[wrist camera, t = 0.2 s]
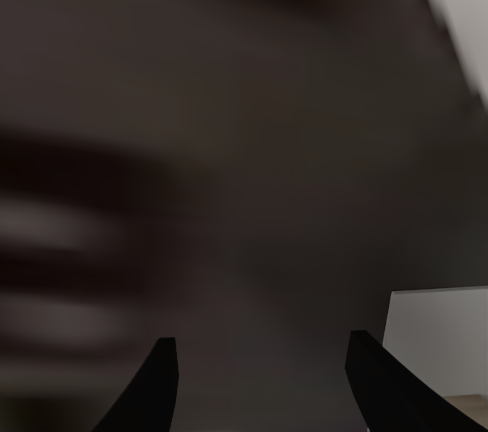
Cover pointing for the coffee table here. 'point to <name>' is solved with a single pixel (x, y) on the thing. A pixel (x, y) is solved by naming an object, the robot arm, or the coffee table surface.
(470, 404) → the wooden block
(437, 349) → the grey mat
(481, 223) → the coffee table surface
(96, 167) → the coffee table surface
